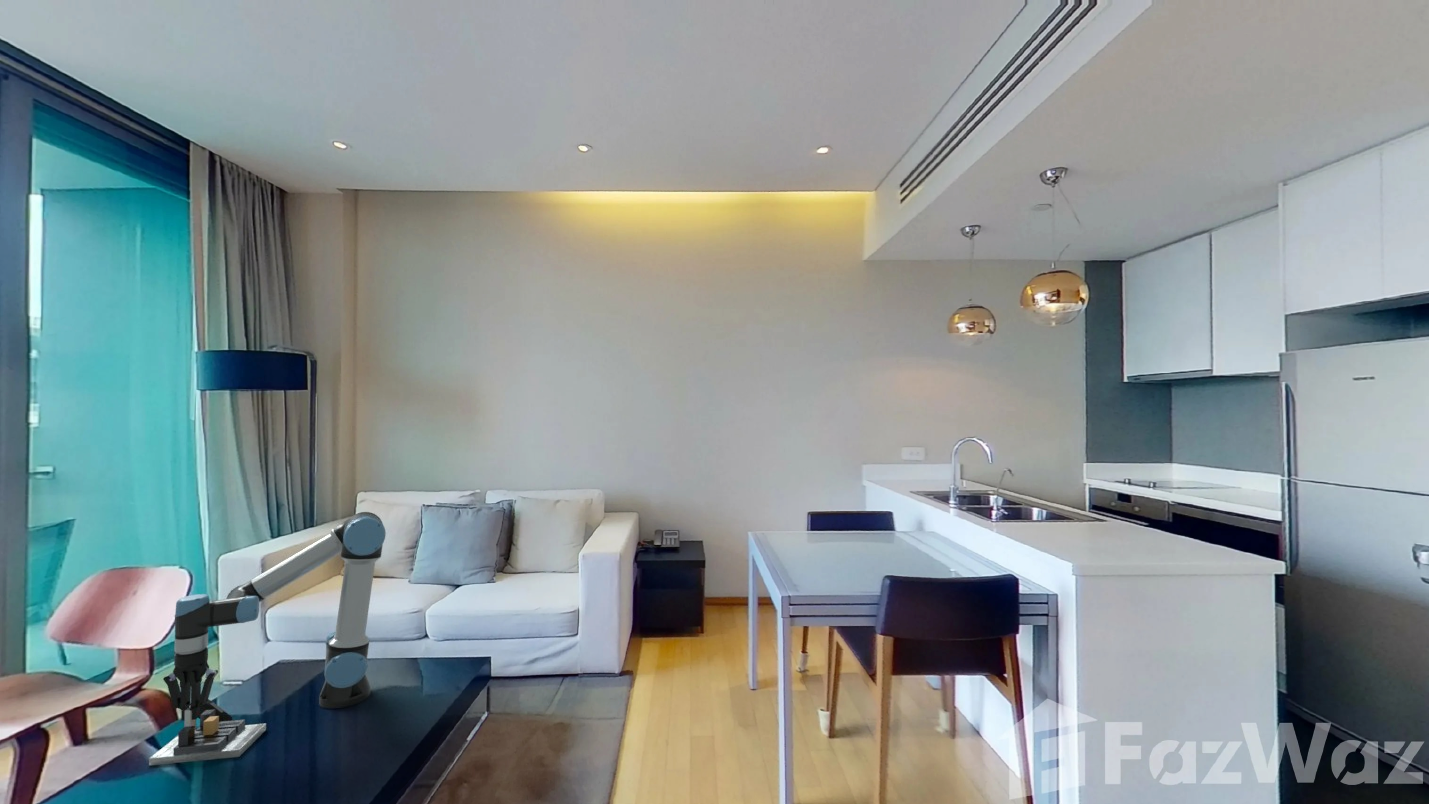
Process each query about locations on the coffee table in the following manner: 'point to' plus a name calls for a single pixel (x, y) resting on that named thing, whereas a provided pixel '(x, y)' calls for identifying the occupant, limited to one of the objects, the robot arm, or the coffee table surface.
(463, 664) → the coffee table surface
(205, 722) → the handle
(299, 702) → the coffee table surface
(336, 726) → the coffee table surface
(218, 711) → the gun
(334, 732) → the coffee table surface
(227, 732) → the panel
